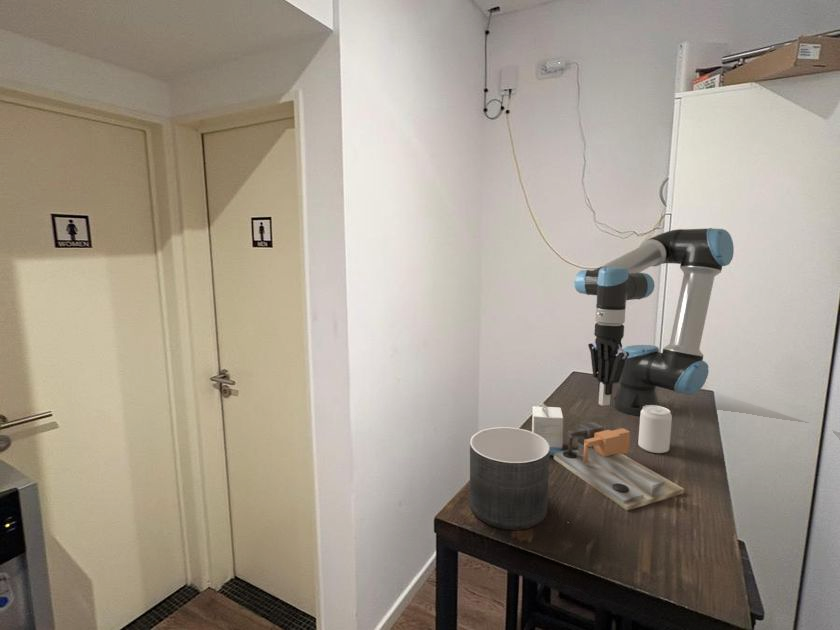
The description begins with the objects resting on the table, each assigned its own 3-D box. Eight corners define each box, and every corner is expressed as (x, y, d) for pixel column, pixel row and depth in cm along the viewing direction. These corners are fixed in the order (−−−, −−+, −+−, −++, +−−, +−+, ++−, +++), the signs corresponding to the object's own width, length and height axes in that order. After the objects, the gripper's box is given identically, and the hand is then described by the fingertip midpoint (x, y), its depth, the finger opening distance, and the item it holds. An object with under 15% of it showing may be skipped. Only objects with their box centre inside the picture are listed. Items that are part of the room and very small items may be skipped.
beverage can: (634, 448, 130) (637, 410, 128) (643, 439, 136) (645, 402, 134) (664, 457, 125) (668, 417, 123) (672, 447, 131) (675, 409, 129)
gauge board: (603, 447, 131) (605, 417, 130) (683, 493, 107) (686, 457, 106) (553, 459, 125) (555, 427, 123) (626, 510, 101) (629, 472, 99)
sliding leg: (619, 449, 124) (621, 427, 123) (631, 455, 120) (632, 432, 119) (578, 459, 119) (579, 436, 118) (589, 466, 115) (590, 442, 114)
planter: (466, 485, 113) (467, 427, 110) (537, 485, 112) (539, 426, 109) (473, 530, 95) (473, 462, 92) (556, 531, 94) (559, 463, 92)
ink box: (562, 457, 126) (564, 412, 124) (532, 454, 128) (533, 410, 126) (559, 443, 134) (561, 401, 132) (531, 441, 136) (532, 399, 134)
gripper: (582, 320, 127) (577, 398, 131) (617, 328, 115) (611, 414, 119) (602, 318, 130) (597, 395, 134) (639, 326, 118) (632, 410, 122)
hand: (604, 404), depth 127 cm, fingers closed
